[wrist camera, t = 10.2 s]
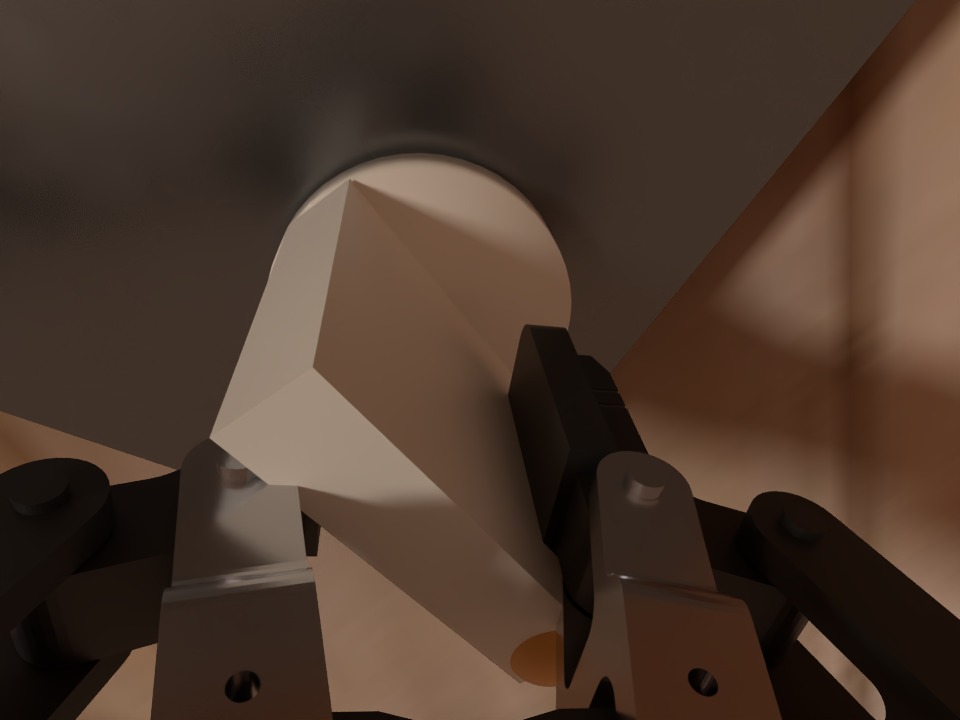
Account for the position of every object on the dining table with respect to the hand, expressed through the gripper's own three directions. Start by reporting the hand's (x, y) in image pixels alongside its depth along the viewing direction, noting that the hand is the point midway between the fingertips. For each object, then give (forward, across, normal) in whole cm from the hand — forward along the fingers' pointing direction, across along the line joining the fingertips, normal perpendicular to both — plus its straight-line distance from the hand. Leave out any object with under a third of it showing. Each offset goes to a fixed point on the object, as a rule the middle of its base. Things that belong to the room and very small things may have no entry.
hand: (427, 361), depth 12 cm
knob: (+2, 0, 0) cm, 2 cm away
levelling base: (+5, +5, -6) cm, 10 cm away
